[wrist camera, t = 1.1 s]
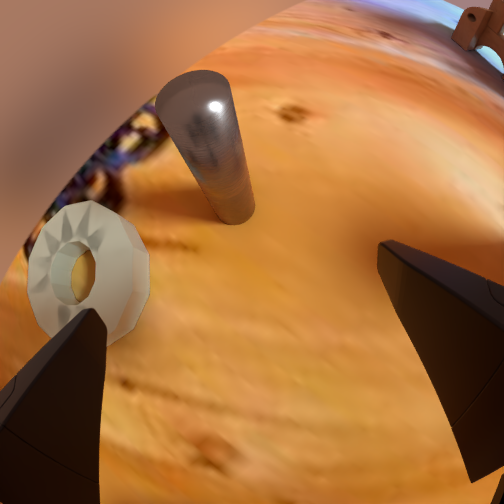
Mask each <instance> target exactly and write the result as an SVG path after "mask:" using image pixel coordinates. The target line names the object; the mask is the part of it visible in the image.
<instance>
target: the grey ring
mask: <svg viewBox="0 0 504 504" xmlns="http://www.w3.org/2000/svg"><path fill="white" fill-rule="evenodd" d="M87 250H91V252H92V255H93V257H94V259H95V262H96V271H95V282H94V285H93V287H92V289H91V291H90V294H89V296H88V297H87V298H86V299H85V300H83V301H82V302H81V303H80V302H79V301H77V300H76V298H75V295H74V293H73V291H72V288H71V272H72V269H73V267H74V265H75V262H76V260H77V258H79V257H80V256H81V255H82V254H83V253H84V252H86V251H87ZM27 294H28V297H29V300H30V303H31V306H32V309H33V312H34V315H35V318H36V321H37V324H38V325H39V326H40V327H41V328H42V329H43V330H44V331H45V332H46V333H47V334H48V335H49V336H50V337H51V338H53V337H54V336H55V335H56V334H57V333H58V332H59V331H60V330H61V329H62V328H63V327H64V326H65V325H66V324H67V323H68V322H69V321H71V320H72V319H73V318H74V317H75V316H76V315H77V314H78V313H79V312H80V311H81V310H83V309H87V308H94V309H95V310H96V311H97V313H98V314H99V316H100V317H101V319H102V320H103V322H104V323H105V325H106V327H107V331H108V334H107V347H108V346H109V345H111V344H112V343H114V342H115V341H117V340H118V339H120V338H121V337H123V336H124V335H125V334H127V333H128V332H130V331H131V330H133V329H134V327H135V325H136V323H137V321H138V318H139V316H140V314H141V312H142V310H143V308H144V305H145V303H146V301H147V299H148V297H149V295H150V282H149V253H148V251H147V250H146V248H145V246H144V244H143V242H142V240H141V238H140V236H139V234H138V232H137V230H136V228H135V226H134V225H133V224H132V223H130V222H129V221H127V220H126V219H124V218H123V217H121V216H120V215H118V214H117V213H115V212H113V211H111V210H109V209H107V208H105V207H103V206H101V205H100V204H98V203H96V202H94V201H92V200H91V201H86V202H81V203H77V204H72V205H68V206H64V207H63V208H62V209H61V210H60V211H59V212H58V213H57V214H56V215H55V216H54V217H53V218H52V219H51V220H50V221H49V222H48V223H47V224H45V225H44V226H43V227H42V229H41V232H40V234H39V236H38V238H37V241H36V243H35V245H34V248H33V250H32V253H31V255H30V258H29V267H28V289H27Z"/></svg>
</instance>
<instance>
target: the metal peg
mask: <svg viewBox="0 0 504 504" xmlns="http://www.w3.org/2000/svg"><path fill="white" fill-rule="evenodd" d="M155 110H156V113H157V114H158V116H159V118H160V120H161V121H162V123H163V125H164V126H165V128H166V130H167V132H168V133H169V135H170V137H171V138H172V140H173V142H174V143H175V145H176V147H177V149H178V150H179V152H180V154H181V155H182V157H183V159H184V160H185V162H186V164H187V165H188V167H189V169H190V171H191V172H192V174H193V176H194V177H195V179H196V181H197V182H198V184H199V186H200V187H201V189H202V191H203V192H204V194H205V196H206V197H207V199H208V201H209V202H210V204H211V206H212V207H213V209H214V211H215V212H216V214H217V216H218V217H219V219H220V220H221V221H223V222H224V223H226V224H230V225H238V224H242V223H244V222H246V221H247V220H248V219H249V218H250V217H251V216H252V214H253V212H254V209H255V201H254V196H253V191H252V187H251V182H250V177H249V172H248V167H247V163H246V158H245V153H244V148H243V144H242V139H241V134H240V130H239V125H238V120H237V116H236V111H235V107H234V102H233V97H232V93H231V88H230V84H229V82H228V80H227V79H226V78H225V77H224V76H223V75H221V74H219V73H217V72H214V71H210V70H197V71H191V72H188V73H184V74H182V75H180V76H178V77H176V78H174V79H173V80H171V81H170V82H168V83H167V84H166V85H165V86H164V87H163V88H162V90H161V91H160V92H159V94H158V96H157V98H156V102H155Z"/></svg>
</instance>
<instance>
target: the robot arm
mask: <svg viewBox="0 0 504 504" xmlns="http://www.w3.org/2000/svg"><path fill="white" fill-rule="evenodd" d="M377 269H378V272H379V275H380V277H381V279H382V281H383V284H384V286H385V288H386V290H387V293H388V295H389V297H390V300H391V302H392V304H393V307H394V309H395V311H396V313H397V315H398V317H399V319H400V321H401V323H402V325H403V326H404V328H405V330H406V332H407V334H408V336H409V338H410V340H411V342H412V343H413V345H414V347H415V349H416V351H417V353H418V355H419V357H420V359H421V361H422V363H423V365H424V367H425V369H426V371H427V374H428V376H429V378H430V380H431V382H432V384H433V386H434V389H435V391H436V393H437V395H438V397H439V400H440V402H441V404H442V407H443V409H444V411H445V414H446V416H447V418H448V421H449V423H450V426H451V427H452V428H451V429H452V431H453V434H454V436H455V439H456V442H457V444H458V447H459V450H460V452H461V455H462V458H463V461H464V464H465V467H466V470H467V473H468V476H469V479H470V481H471V483H474V482H476V481H477V480H479V479H481V478H483V477H485V476H487V475H489V474H491V473H492V472H494V471H496V470H498V469H499V468H501V467H503V466H504V286H502V285H499V284H497V283H495V282H493V281H491V280H489V279H487V280H486V278H484V277H482V276H479V275H477V274H475V273H473V272H470V271H468V270H466V269H464V268H461V267H459V266H456V265H454V264H452V263H449V262H447V261H445V260H442V259H440V258H437V257H435V256H432V255H430V254H427V253H425V252H422V251H420V250H417V249H415V248H412V247H410V246H407V245H405V244H402V243H399V242H397V241H394V240H386V241H383V242H380V243H379V244H378V256H377ZM107 334H108V331H107V327H106V325H105V323H104V322H103V320H102V319H101V317H100V316H99V314H98V313H97V311H96V310H95V309H94V308H87V309H83V310H81V311H80V312H79V313H78V314H77V315H76V316H75V317H74V318H73V319H72V320H71V321H69V322H68V323H67V324H66V325H65V326H64V327H63V328H62V329H61V330H60V331H59V332H58V333H57V334H56V335H55V336H54V337H53V338H52V339H51V340H50V341H49V342H48V343H47V344H46V345H45V346H43V347H42V348H41V349H40V350H39V351H38V352H37V353H36V354H35V355H34V357H33V358H32V359H31V360H30V361H29V362H28V363H27V364H26V365H25V366H24V367H23V368H22V369H21V370H20V371H19V372H18V373H17V375H15V376H14V377H13V378H12V379H11V380H10V382H9V383H8V384H7V385H6V386H5V387H4V388H3V389H2V390H1V391H0V504H100V490H99V443H100V424H101V410H102V399H103V389H104V381H105V371H106V350H107ZM491 504H504V474H502V476H501V479H500V481H499V484H498V487H497V489H496V492H495V494H494V497H493V499H492V502H491Z"/></svg>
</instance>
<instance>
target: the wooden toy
mask: <svg viewBox="0 0 504 504" xmlns="http://www.w3.org/2000/svg"><path fill="white" fill-rule="evenodd" d="M503 33H504V0H493V1H492V3H491V5H490V7H489V9H485V8H480V7H469V8H467V9H466V10H464V12H463V13H462V15H461V17H460V20H459V22H458V24H457V26H456V28H455V31H454V33H453V35H452V37H451V38H452V39H453V40H454V41H455V42H456V43H457V44H459V45H460V46H461V47H462V48H463V49H464V50H465V51H467V50H473V49H474V50H476V49H481V48H482V47H483V46H487V47H490V48H491V49H492V50H494V51H495V52H496V53H497V54H498V56H499V57H500V58H501V60H502V63H503V66H504V35H503ZM502 79H503V80H504V74H503V76H502Z"/></svg>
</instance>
